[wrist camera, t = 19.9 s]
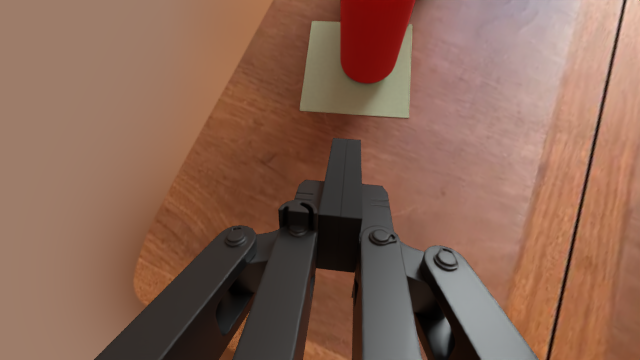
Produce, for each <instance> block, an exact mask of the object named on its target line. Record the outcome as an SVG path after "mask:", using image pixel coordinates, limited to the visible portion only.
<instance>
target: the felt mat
mask: <svg viewBox="0 0 640 360" xmlns="http://www.w3.org/2000/svg"><path fill="white" fill-rule="evenodd" d="M412 26H413V25H409V24H408V26H407V29H406V32H405V36H404V39H403V42H402V45H401V48H400V52H399V55H398V58H397V61H396V64H395V67H394V69H393V70H392V72H391V73H390V74H389V75H388V76H387V77H386V78H384V79H383V80H381V81H379V82H377V83H374V84H360V83H357V82H354V81H352V80H351V79H350V78H348V77H347V76H346V74H345V73H344V71H343V69H342V66H341V61H340V22H327V21H312V25H311V32H310V39H309V46H308V53H307V60H306V68H305V75H304V82H303V89H302V96H301V103H300V110H299V111H310V112H325V113H339V114H354V115H368V116H383V117H397V118H409V98H410V74H411V50H412Z"/></svg>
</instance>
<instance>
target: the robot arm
mask: <svg viewBox="0 0 640 360" xmlns="http://www.w3.org/2000/svg"><path fill="white" fill-rule="evenodd" d="M388 201H389V200H388V194H387V192H386V190H385V189H384V188H383V187H382V186H378V185H367V184H362V175H361V140H353V139H339V138H333V141H332V146H331V151H330V156H329V162H328V167H327V172H326V177H325V181H314V180H304V181H303V182H302V183H301V184H300V185H299V187H298V190H297V193H296V195H295V199H294V200H292V201H288V202H286V203H284V204H283V205H281V207H280V208H279V209H278V211H279V226H280V228H279V229H278V230H276V231H273V232H269V233H264V234H256V233H255V232H254V230H253V229H252V228H250V227H248V226H241V225H239V226H232V227H230V228H227V229H225V230H224V231H222V232H221V233H220V234H219V235H218V236H217V237H216V238H215V239H214V240H213V241H212V242H211V243H210V244H209V245H208V246H207V247H206V248H205V249H204V250H203V251H202V252H201V253H200V254H199V255H198V256H197V257H196V258H195V259H194V260H193V261H192V262H191V263H190V264H189V265H188V266H187V267H186V268H185V269H184V270H183V271H182V272H181V273H180V274H179V275H178V276H177V277H176V278H175V279H174V280H173V281H172V282H171V283H170V284H169V285H168V286H167V287H166V288H165V289H164V290H163V291H162V292H161V293H160V294H159V295H158V296H157V297H156V298H155V299H154V300H153V301H152V302H151V303H150V304H149V305H148V306H147V307H146V308H145V309H144V310H143V311H142V312H141V313H140V314H139V315H138V316H137V317H136V318H135V319H134V320H133V321H132V322H131V323H130V324H129V325H128V326H127V327H126V328H125V329H124V330H123V331H122V332H121V333H120V334H119V335H118V336H117V337H116V338H115V339H114V340H113V341H112V342H111V343H110V344H109V345H108V346H107V347H106V348H105V349H104V350H103V351H102V352H101V353H100V354H99V355H98V356H97V357H96V358H95V359H94V360H219V358H220V357H221V355H222V354H223V352H224V350H225V349H226V347H227V346H228V344H229V343H230V341H231V339H232V338H233V336H234V335H235V333H236V332H237V330H238V328H239V327H240V325H241V324H242V322H243V320H244V319H245V317H246V316H247V314H248V313H249V315H248V317H247V320H246V323H245V326H244V329H243V331H242V334H241V337H240V340H239V343H238V345H237V348H236V351H235V354H234V356H233V359H232V360H303V355H304V349H305V342H306V336H307V330H308V323H309V317H310V310H311V304H312V297H313V291H314V285H315V271H316V268H319V269H328V270H336V271H345V272H353V273H354V272H355V278H354V285H353V291H352V298H353V339H352V360H422V357H421V352H420V347H419V341H418V337H419V339H420V342H421V344H422V346H423V349H424V351H425V354H426V356H427V358H428V360H539V359H538V358H537V356H536V355H535V354H534V352H533V351H532V349H531V348H530V347H529V345H528V344H527V343H526V341H525V340H524V339H523V337H522V336H521V335H520V333H519V332H518V330H517V329H516V328H515V326H514V325H513V324H512V322H511V321H510V320H509V318H508V317H507V315H506V314H505V313H504V311H503V310H502V309H501V307H500V306H499V305H498V303H497V302H496V300H495V299H494V298H493V296H492V295H491V294H490V292H489V291H488V290H487V288H486V287H485V285H484V284H483V283H482V281H481V280H480V279H479V277H478V276H477V275H476V273H475V272H474V271H473V269H472V268H471V266H470V265H469V264H468V262H467V261H466V260H465V259H464V258H463V257H462V256H461V255H460V254H459V253H458V252H456V251H454V250H453V249H451V248H448V247H445V246H432V247H429V248H428V249H427V250H425V252H423V251H420V250H417V249H414V248H412V247H409V246H407V245H405V244H404V243H402V242H401V241H400V239H399V237H398V235H397V234H396V233H395V232H394V230H393V224H392V218H391V212H390V208H389V207H390V206H389V202H388ZM249 311H250V312H249ZM417 334H418V336H417Z"/></svg>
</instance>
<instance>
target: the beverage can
mask: <svg viewBox="0 0 640 360" xmlns="http://www.w3.org/2000/svg"><path fill="white" fill-rule="evenodd" d="M414 4H415V0H341V15H340V61H341V66H342V69H343V71H344V73H345V74H346V76H347V77H348V78H350V79H351V80H352V81H354V82H357V83H360V84H374V83H377V82H379V81H381V80H383V79H384V78H386V77H387V76H388V75H389V74H390V73H391V72H392V70H393V69H394V67H395V64H396V61H397V58H398V55H399V52H400V48H401V45H402V42H403V39H404V36H405V32H406V29H407V26H408V23H409V20H410V16H411V13H412V10H413V7H414Z"/></svg>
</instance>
